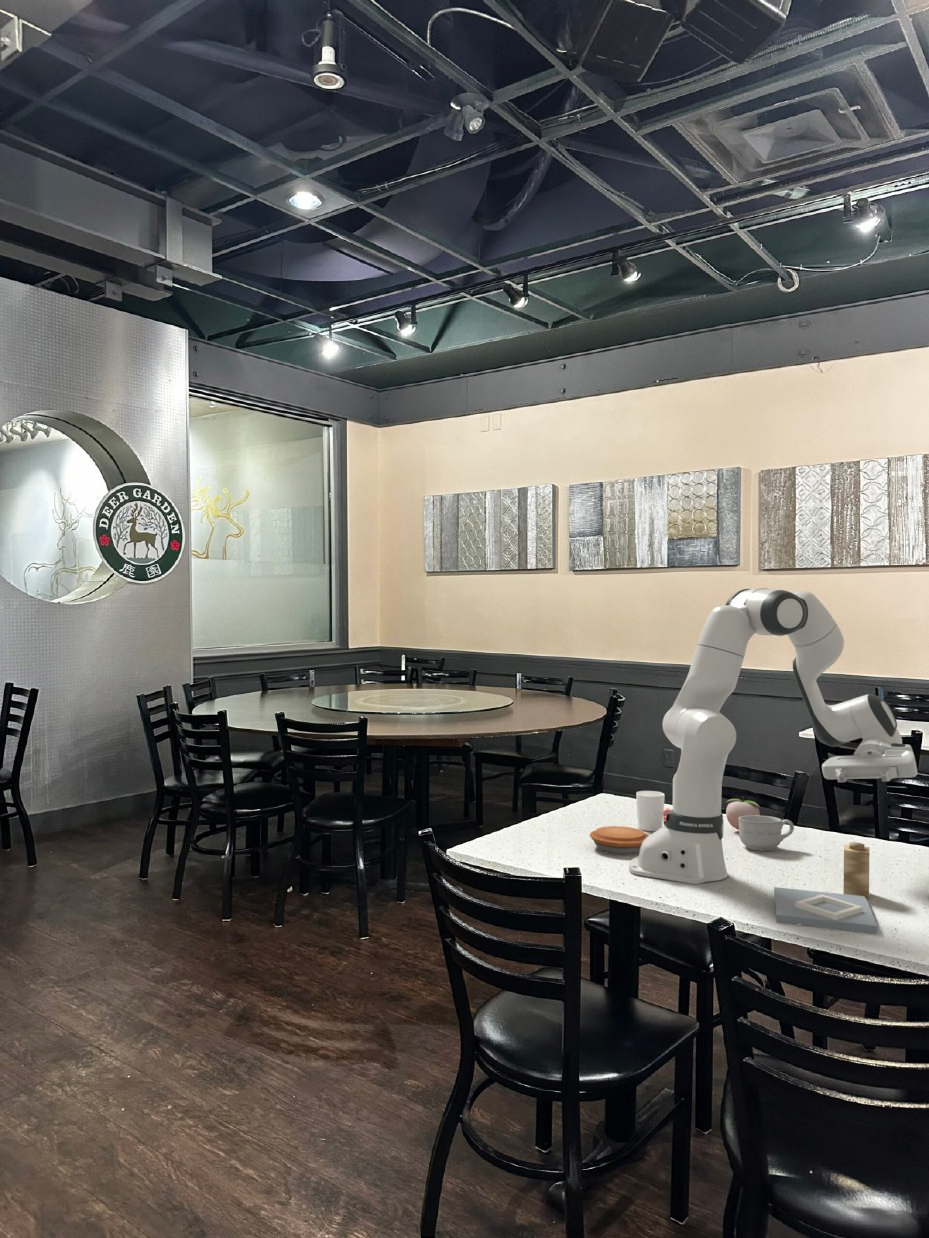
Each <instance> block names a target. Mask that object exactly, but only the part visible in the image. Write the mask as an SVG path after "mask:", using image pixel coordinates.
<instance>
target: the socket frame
mask: <svg viewBox="0 0 929 1238" xmlns="http://www.w3.org/2000/svg"><path fill="white" fill-rule="evenodd" d="M823 901H824V902H827V903H830V904H833V905H836V906H840V907H843V908H846V909H844V910H841V911H838V912H835V913H834V912H831V911H828V910H825V909H821V908H818V907H815V906H812V905H813V904H816V903H820V902H823ZM795 907H797V908H800V909H803V910H806V911H809V912H812V913H815V914H818V915H821V916H825V917H828V918H831V919H834V920H838V919H841V918H844V917H848V916H851V915H854V914H857V913H860V912H863V907H862V906H858V905H855V904H852V903H848V902H845V901H842V900H839V899H835V898H832V897H829V896H826V895H818V896H815V897H811V898H807V899H804V900H800V901H797V902H795Z"/></svg>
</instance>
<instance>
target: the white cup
mask: <svg viewBox="0 0 929 1238" xmlns="http://www.w3.org/2000/svg"><path fill="white" fill-rule="evenodd" d="M665 795H666V794H665V793H663V792H661V791H655V790H640V791H636V796H635V797H636V816H637V829H639V830H641V831H644V832H645V831H646V832H656V831H657V830H659V829H660V828H662V827H663V823H664V815H663V812H664V810H665Z"/></svg>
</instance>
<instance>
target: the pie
mask: <svg viewBox="0 0 929 1238" xmlns="http://www.w3.org/2000/svg"><path fill="white" fill-rule="evenodd" d="M648 836H650V834H648V833H646V832H645V831H644V830H641V829H639V828H635V827H629V826H621V825H620V826H617V825H615V826H614V825H613V826H611V825H609V826H603V827H602V826H601V827H599V828H597V829H595V830H593V831H591V832H590V834H589V837H590V838H591V840H593V843H594V845H595V846H596V849H598V851H600V850H601V851H600V852H603V853H605V852H607V853H606V854H610V853H611V854H610V855H617V854H618V855H620V856H629V855H630V856H631V854H632V855H637V854H639V851H640V848H641V845H642V843H643V841H644V840H645V839H646V838H647V837H648ZM636 853H637V854H636ZM618 855H617V856H618Z"/></svg>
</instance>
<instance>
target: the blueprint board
mask: <svg viewBox="0 0 929 1238" xmlns="http://www.w3.org/2000/svg"><path fill="white" fill-rule="evenodd" d="M818 895H826V896H829V897H832V898H835V899H839V900H842V901H845V902H848V903H852V904H855V905H858V906H862V907H863V912H860V913H857V914H854V915H851V916H848V917H844V918H841V919H838V920H834V919H831V918H828V917H825V916H821V915H818V914H815V913H812V912H809V911H806V910H803V909H800V908H797V907H795V902H797V901H800V900H804V899H807V898H811V897H815V896H818ZM773 896H774V897H773V899H774V908H775V910H774V911H775V919H776V923H778V924H779V923H780V924H787V925H796V924H801V925H800V926H804V925H806V926H805V927H813V928H814V927H815V928H823V929H832V930H839V931H840V930H841V931H848V932H849V931H850V932H859V933H866V934H873V935H874V934H875V935H878V924H877V922H876V919H875V918H874V914H873V912H872V909H871V907H870V905H869V903H868V899H866V898H865V896H856V895H846V894H843V893H835V892H824V891H816V890H806V889H798V888H797V889H795V888H788V887H787V888H786V887H776V886H774V887H773ZM812 906H815V907H818V908H821V909H825V910H828V911H831V912H834V913H835V912H838V911H841V910H844V909H846V908H843V907H840V906H836V905H833V904H830V903H827V902H824V901H823V902H820V903H816V904H813V905H812Z"/></svg>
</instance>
